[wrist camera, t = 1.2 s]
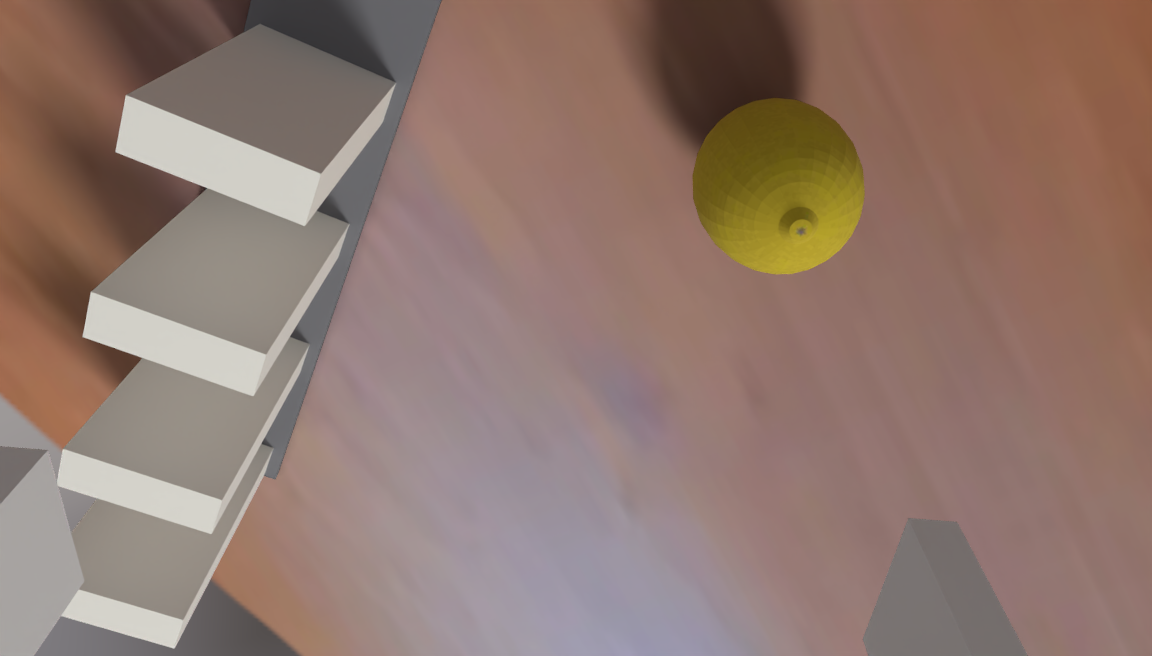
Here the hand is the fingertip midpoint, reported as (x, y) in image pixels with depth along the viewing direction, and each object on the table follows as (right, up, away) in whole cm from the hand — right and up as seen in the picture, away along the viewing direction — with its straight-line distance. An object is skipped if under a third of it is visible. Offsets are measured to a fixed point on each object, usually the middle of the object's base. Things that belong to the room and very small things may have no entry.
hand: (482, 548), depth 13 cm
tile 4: (-12, +3, +23) cm, 26 cm away
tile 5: (-15, -2, +25) cm, 30 cm away
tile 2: (-8, +13, +17) cm, 23 cm away
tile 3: (-10, +8, +20) cm, 24 cm away
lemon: (+8, +10, +19) cm, 23 cm away
